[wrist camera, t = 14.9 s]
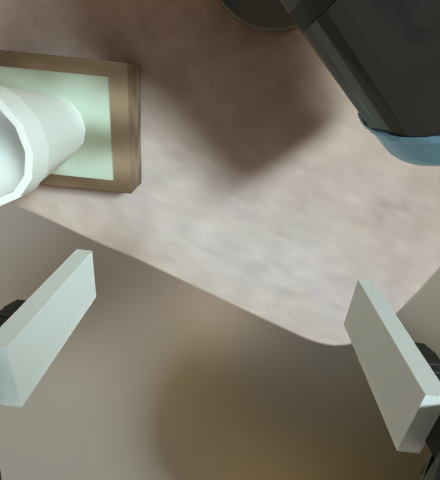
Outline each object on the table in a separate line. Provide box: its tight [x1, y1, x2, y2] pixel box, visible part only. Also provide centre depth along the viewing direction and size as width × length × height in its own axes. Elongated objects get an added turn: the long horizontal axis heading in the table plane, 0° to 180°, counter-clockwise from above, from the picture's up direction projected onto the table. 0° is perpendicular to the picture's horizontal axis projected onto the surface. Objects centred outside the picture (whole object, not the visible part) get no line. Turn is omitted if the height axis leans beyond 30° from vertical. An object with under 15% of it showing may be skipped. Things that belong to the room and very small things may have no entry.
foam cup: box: [0, 86, 85, 206], centre depth 31 cm, size 10×9×13 cm
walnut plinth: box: [0, 50, 141, 194], centre depth 39 cm, size 14×16×5 cm
